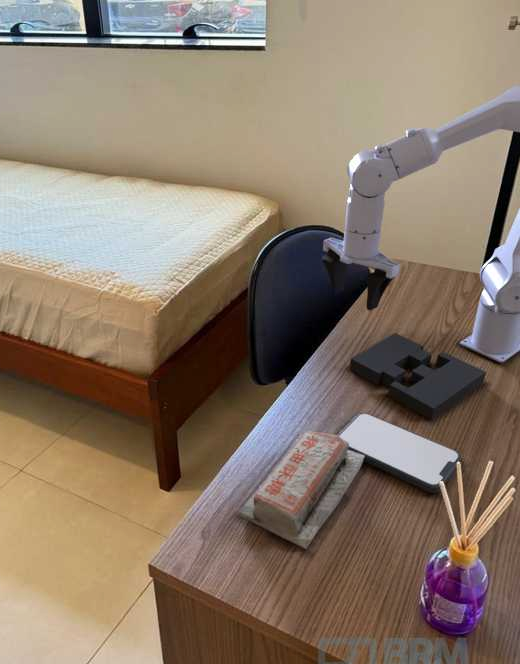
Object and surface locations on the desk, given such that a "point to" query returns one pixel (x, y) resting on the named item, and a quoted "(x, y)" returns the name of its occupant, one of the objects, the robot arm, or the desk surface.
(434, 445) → the smartphone
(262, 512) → the packaged product
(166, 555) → the desk surface
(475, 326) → the robot arm
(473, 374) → the pad
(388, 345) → the loose pad
